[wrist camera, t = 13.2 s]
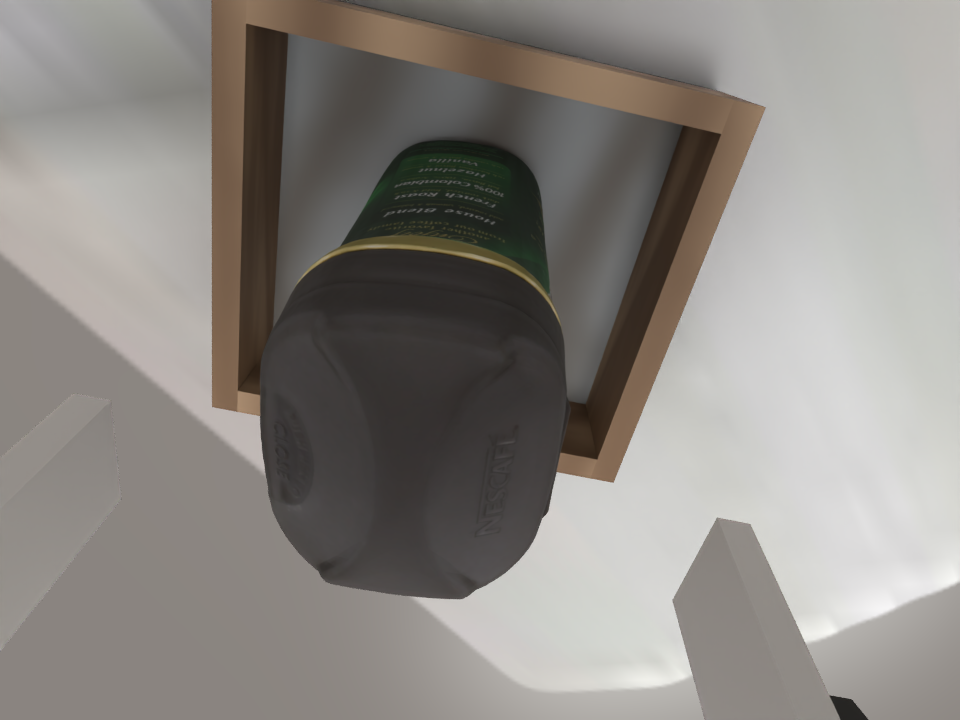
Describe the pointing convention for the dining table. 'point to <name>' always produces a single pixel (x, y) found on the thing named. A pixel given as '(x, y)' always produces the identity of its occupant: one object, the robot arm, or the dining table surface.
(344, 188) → the walnut crate
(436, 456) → the coffee jar
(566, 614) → the dining table surface
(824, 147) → the dining table surface
